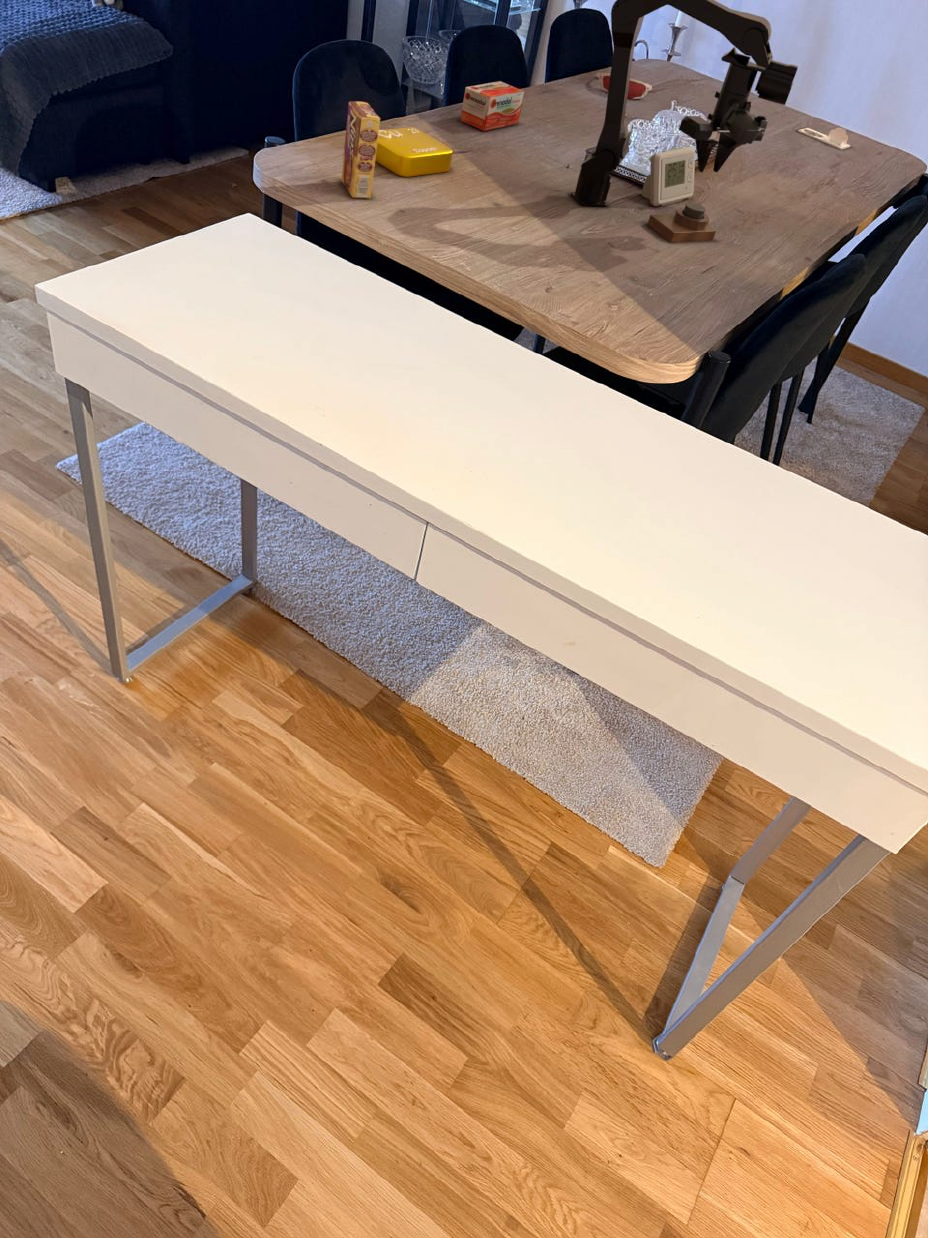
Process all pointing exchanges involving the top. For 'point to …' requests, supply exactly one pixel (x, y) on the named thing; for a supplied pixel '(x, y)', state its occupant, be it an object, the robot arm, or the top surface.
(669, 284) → the top surface
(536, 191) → the top surface
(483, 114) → the medicine box
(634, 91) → the sunglasses
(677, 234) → the button box
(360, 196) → the candy box
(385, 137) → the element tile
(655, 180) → the digital clock
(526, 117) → the top surface
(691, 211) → the button
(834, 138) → the white stand
